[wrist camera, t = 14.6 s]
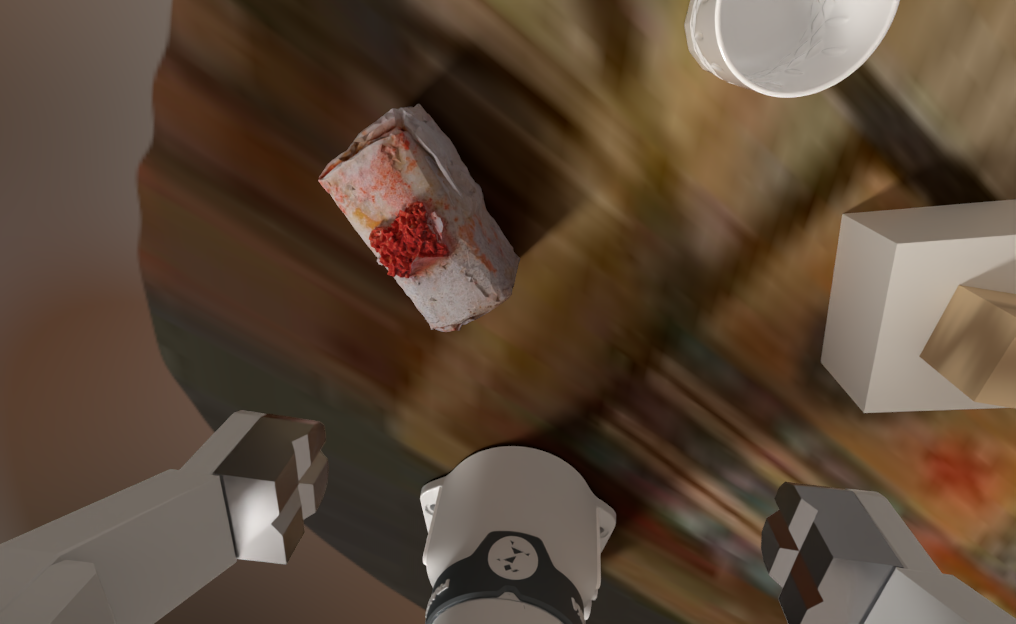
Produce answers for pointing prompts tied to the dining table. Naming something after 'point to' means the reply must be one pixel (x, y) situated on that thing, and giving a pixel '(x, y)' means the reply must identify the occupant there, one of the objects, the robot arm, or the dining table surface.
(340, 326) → the dining table surface
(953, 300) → the oak cube
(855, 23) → the white cup
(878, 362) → the white square block
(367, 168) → the food item
